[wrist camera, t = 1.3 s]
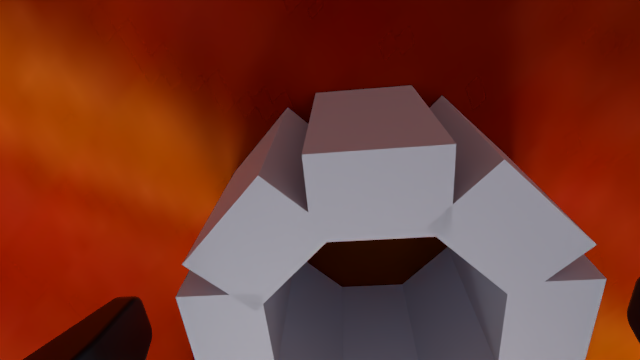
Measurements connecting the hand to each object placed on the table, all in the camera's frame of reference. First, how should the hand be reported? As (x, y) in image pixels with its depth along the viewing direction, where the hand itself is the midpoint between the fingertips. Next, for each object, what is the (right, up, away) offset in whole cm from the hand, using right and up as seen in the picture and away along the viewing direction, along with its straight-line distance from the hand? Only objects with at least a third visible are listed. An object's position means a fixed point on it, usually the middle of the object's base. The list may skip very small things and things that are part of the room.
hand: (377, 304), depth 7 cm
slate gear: (0, +1, +2) cm, 3 cm away
